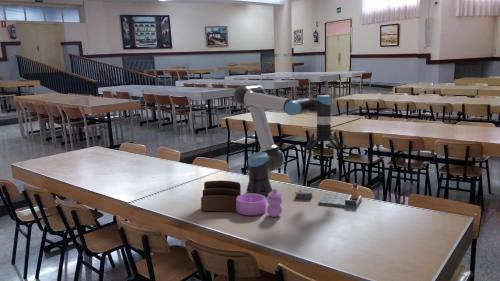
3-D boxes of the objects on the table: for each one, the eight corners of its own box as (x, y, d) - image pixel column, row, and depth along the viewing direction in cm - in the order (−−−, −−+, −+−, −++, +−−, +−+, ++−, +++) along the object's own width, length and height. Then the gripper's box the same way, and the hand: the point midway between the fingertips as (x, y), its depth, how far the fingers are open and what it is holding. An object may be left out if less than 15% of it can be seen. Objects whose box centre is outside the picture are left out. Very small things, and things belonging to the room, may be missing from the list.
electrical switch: (294, 192, 227) (297, 185, 235) (294, 200, 228) (297, 193, 237) (311, 193, 224) (313, 186, 232) (311, 201, 225) (314, 194, 234)
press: (318, 204, 216) (318, 197, 216) (325, 196, 230) (325, 189, 229) (356, 208, 208) (356, 201, 207) (361, 199, 221) (361, 192, 220)
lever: (351, 198, 218) (351, 184, 217) (352, 196, 221) (352, 183, 220) (357, 199, 217) (357, 185, 216) (358, 197, 220) (358, 183, 218)
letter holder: (204, 204, 222) (204, 179, 219) (240, 205, 220) (240, 180, 218) (200, 211, 212) (200, 184, 209) (238, 212, 210) (238, 186, 208)
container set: (230, 211, 208) (230, 186, 206) (246, 203, 221) (246, 179, 219) (273, 221, 195) (274, 195, 193) (287, 211, 208) (288, 187, 206)
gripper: (303, 125, 216) (303, 164, 220) (348, 123, 220) (347, 161, 224) (299, 123, 223) (299, 161, 227) (342, 121, 227) (342, 158, 231)
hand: (323, 161), depth 226 cm, fingers open, 13 cm apart
